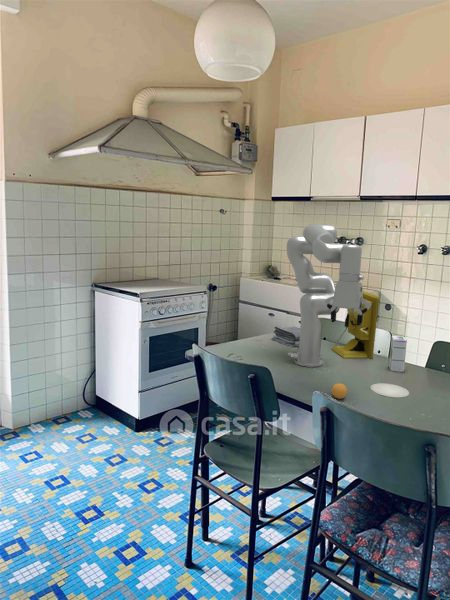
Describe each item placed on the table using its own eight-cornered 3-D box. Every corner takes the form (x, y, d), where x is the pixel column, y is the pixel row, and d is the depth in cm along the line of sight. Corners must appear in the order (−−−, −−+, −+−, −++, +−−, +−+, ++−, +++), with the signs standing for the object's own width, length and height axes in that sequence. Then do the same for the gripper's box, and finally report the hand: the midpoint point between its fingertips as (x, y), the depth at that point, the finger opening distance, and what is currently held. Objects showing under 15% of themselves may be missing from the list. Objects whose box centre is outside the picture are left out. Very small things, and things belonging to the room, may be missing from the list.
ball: (331, 400, 162) (333, 385, 161) (330, 394, 167) (331, 380, 166) (347, 401, 161) (349, 387, 160) (345, 395, 166) (346, 381, 165)
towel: (294, 348, 226) (296, 333, 225) (270, 340, 240) (271, 325, 239) (316, 344, 235) (317, 330, 233) (291, 336, 249) (292, 322, 248)
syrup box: (404, 372, 196) (408, 339, 193) (389, 370, 197) (393, 338, 194) (401, 368, 201) (405, 336, 199) (387, 366, 202) (391, 335, 200)
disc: (374, 395, 167) (374, 395, 167) (367, 382, 181) (367, 382, 181) (414, 399, 166) (414, 398, 166) (403, 385, 180) (403, 384, 180)
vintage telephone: (324, 344, 236) (328, 287, 230) (349, 343, 238) (354, 287, 233) (349, 363, 205) (355, 298, 200) (378, 363, 208) (385, 298, 202)
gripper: (375, 279, 167) (371, 324, 170) (330, 276, 176) (327, 319, 179) (370, 280, 161) (366, 327, 163) (323, 277, 170) (320, 321, 172)
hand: (346, 323), depth 171 cm, fingers open, 9 cm apart
